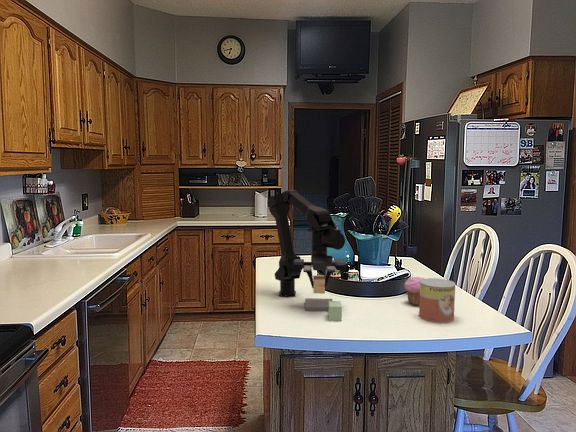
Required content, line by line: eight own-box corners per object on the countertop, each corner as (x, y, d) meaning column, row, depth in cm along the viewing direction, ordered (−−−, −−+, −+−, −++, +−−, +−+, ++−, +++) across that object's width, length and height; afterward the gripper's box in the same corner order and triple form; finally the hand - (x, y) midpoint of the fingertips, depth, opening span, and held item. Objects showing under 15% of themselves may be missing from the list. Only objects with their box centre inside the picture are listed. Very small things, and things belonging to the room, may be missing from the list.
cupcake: (399, 301, 173) (400, 275, 172) (418, 298, 177) (419, 273, 175) (415, 308, 165) (415, 281, 164) (434, 305, 168) (435, 278, 167)
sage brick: (328, 315, 158) (328, 301, 158) (340, 315, 158) (340, 301, 158) (329, 321, 152) (329, 306, 152) (341, 321, 152) (341, 306, 152)
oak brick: (313, 288, 170) (313, 275, 169) (324, 288, 170) (324, 275, 169) (313, 293, 164) (313, 279, 163) (324, 293, 164) (325, 279, 163)
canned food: (434, 325, 148) (435, 288, 147) (411, 314, 159) (412, 280, 157) (461, 320, 153) (463, 284, 152) (437, 310, 163) (439, 276, 162)
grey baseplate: (305, 302, 172) (305, 298, 172) (332, 302, 172) (332, 298, 172) (305, 310, 163) (305, 306, 162) (333, 311, 162) (333, 307, 162)
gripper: (292, 249, 157) (292, 294, 159) (347, 249, 156) (347, 295, 158) (293, 243, 168) (293, 285, 170) (345, 244, 167) (344, 286, 169)
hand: (318, 288), depth 167 cm, fingers closed on oak brick, 4 cm apart
